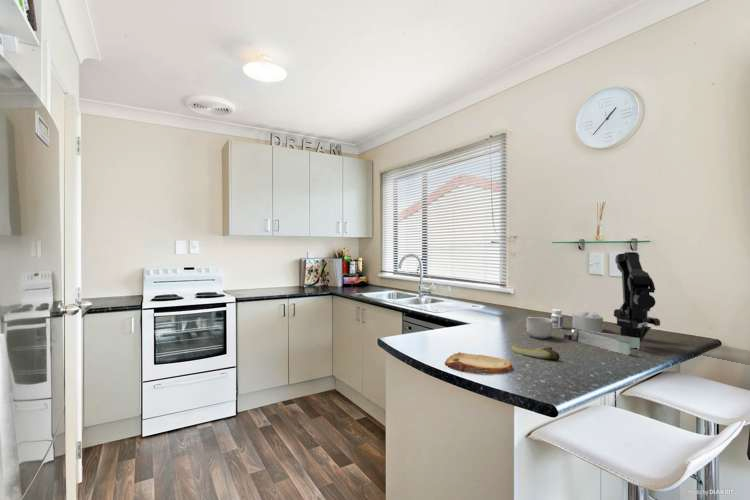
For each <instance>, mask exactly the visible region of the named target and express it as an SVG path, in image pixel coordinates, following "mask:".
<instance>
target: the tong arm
mask: <svg viewBox="0 0 750 500" xmlns="http://www.w3.org/2000/svg"><path fill="white" fill-rule="evenodd" d="M581 331H583V332H587V333H591V334H595V335H599V336H603V337H607V338H611V339H615V340H619V341H623V342H627V343H630V347H631V348H630V349H632V348H637V349H636V350H640V344H641V342H640V338H637V337H630V336H623V335H620V334H613V333H607V332H603V333H601V332H594V331H587V330H581Z"/></svg>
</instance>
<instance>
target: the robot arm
mask: <svg viewBox="0 0 750 500" xmlns="http://www.w3.org/2000/svg"><path fill="white" fill-rule="evenodd" d="M614 262H615V264H616V267H617V269H618V271H620V273H621V281H622V282H621V283H622V284H621V285H622V286H621V287H622V301H623V303H622V305H620V307H619V309H614V310H613V317H615V318H616V326H617V327H620V331H619V332H620V334H619V335H623V336H630V337H637V338H640V343H641V342H642V341H643V339H644V338H645V336H646V335H647V334H648V332H649V331H650V329H652V327H651V326H648V324H649V325H653V326H655V327H658V326H661V320H660V319H659V318H657V317H652V316H649V315H648V313H649V312H651V309H652V308H653V307H654V306H655V305H656V299H655V298H654V296H652V295H651V293H652V294H655V291H656V288H655V287H656V286H655V283H654V281H653V278H652V277H651V276H650V274H649V273H648V272H646V271H644V269H643V267H642V263H641V261H640V254H639V253H638V252H635V251H634V252H633V251H625V252H623V253H618V254H617V255H615V261H614Z"/></svg>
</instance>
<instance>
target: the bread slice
mask: <svg viewBox="0 0 750 500" xmlns="http://www.w3.org/2000/svg"><path fill="white" fill-rule="evenodd" d="M444 365H445V366H446V367H447V366H448V367H447V368H449V367H451V368H450V369H453V368H454V370H456V369H457V371H459V370H461V371H460V372H464V371H465V373H470V372H474V373H473V374H480V373H489V375H490V374H491V375H495V374H496V375H497V374H498V373H499V374H506V373H510V372H513V370H514V367H513V365H512V363H511V362H510V360H508V359H505V358H502V357H496V356H491V355H484V354H483V355H482V354H474V353H473V354H472V353H466V352H461V351H460V352H459V351H458V352H457V353H453V354H452V355H450V356H449V357H448V358H447V359H446V360H445V361H444ZM499 374H498V375H499Z"/></svg>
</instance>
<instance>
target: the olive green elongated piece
mask: <svg viewBox="0 0 750 500" xmlns="http://www.w3.org/2000/svg"><path fill="white" fill-rule="evenodd" d="M510 348H511V350H512V351H513V352H515V353H517V354H519V355H522V356H527V357H531V358H536V359H542V360H551V361H558V360H559V359H560V354H559V352H557V351H555V350H553V347H552V346H548V347H542V348H539V349H538V348H537V349H530V348H529V349H528V348H522V347H519V345H518V343H514V344H513V345H512V346H511V347H510Z"/></svg>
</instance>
